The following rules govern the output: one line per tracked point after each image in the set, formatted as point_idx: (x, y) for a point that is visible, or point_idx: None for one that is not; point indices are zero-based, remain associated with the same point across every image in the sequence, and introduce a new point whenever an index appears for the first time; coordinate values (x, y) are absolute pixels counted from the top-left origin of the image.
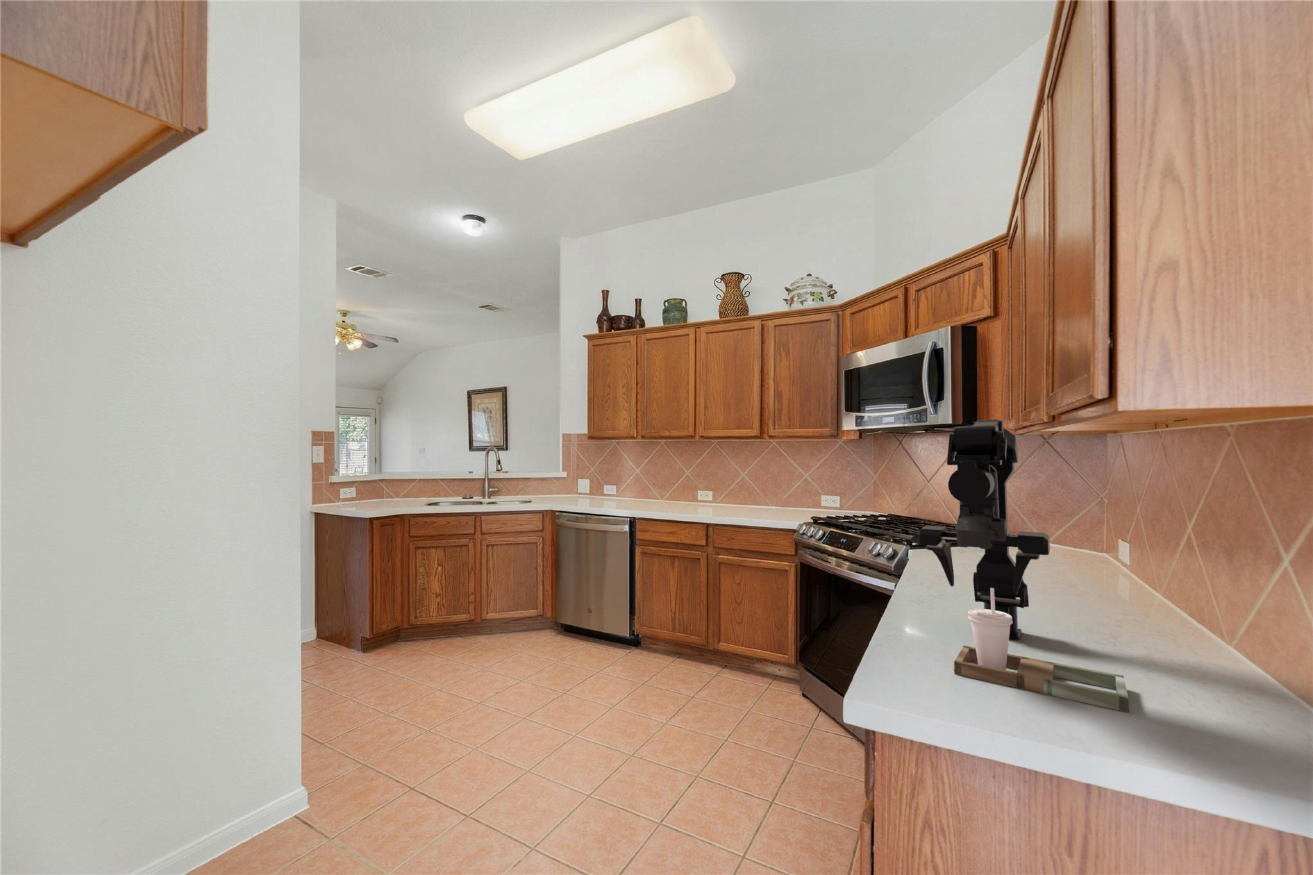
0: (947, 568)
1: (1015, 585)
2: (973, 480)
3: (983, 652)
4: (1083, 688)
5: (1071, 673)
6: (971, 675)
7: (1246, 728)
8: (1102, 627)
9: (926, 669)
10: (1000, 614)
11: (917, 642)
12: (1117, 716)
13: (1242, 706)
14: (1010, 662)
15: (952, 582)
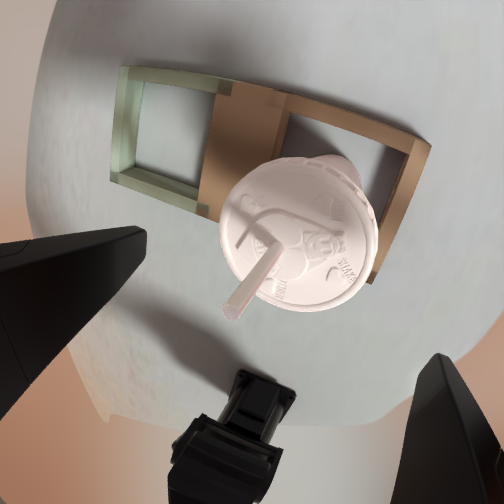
0: (479, 442)
1: (103, 237)
2: None
3: (349, 169)
4: (170, 72)
5: (178, 187)
6: (390, 126)
7: (54, 96)
8: (143, 400)
9: (486, 158)
10: (253, 235)
11: (448, 338)
12: (155, 38)
13: (48, 170)
14: None
15: (441, 366)
